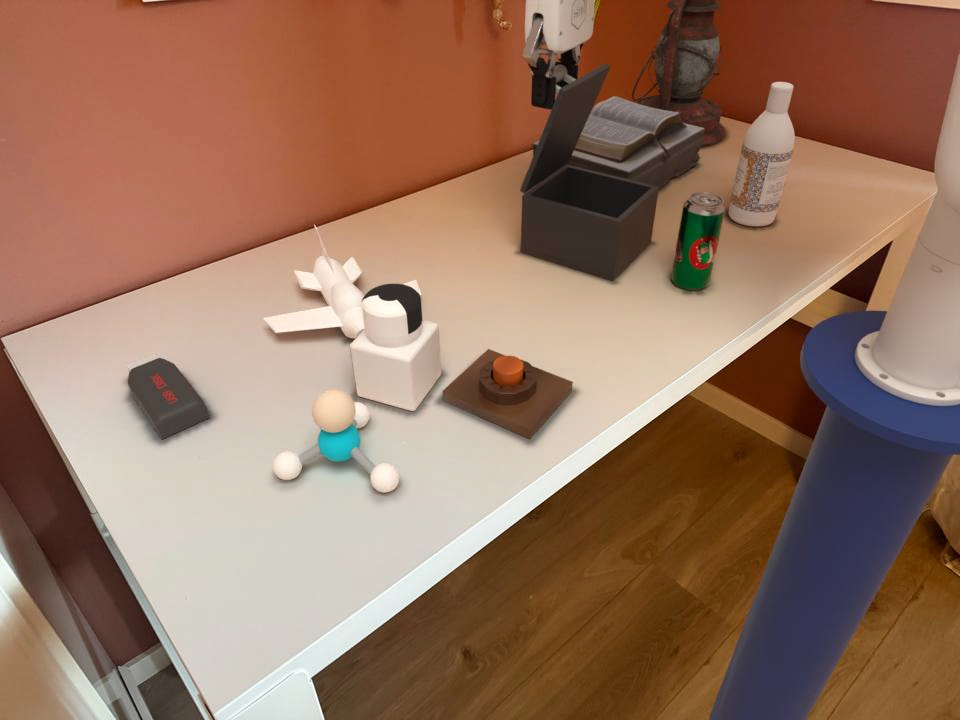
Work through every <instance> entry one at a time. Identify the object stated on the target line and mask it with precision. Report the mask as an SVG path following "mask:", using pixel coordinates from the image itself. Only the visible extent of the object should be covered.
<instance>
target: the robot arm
mask: <svg viewBox="0 0 960 720" xmlns="http://www.w3.org/2000/svg"><path fill="white" fill-rule="evenodd" d="M595 3H596V1H595V0H525V11H524V42H525V44H524V48H523V51H522V58H523V60H525V62H526V63H527V65H528V67H529V74H530V76H531V95H530V98H531V99H530V103H531V106H532V107H536V108H539V109H546V110H549V111H550V110H552V108H553V105H554V102H555V100H556V95H557V94H556V93H555V92H556V85H558V86H559V87H561V88H562V87H564V86H566V85H568V84H569V83H567V82H565V81H564V80H563V81H561V82H559V83H557V84H556V77H554V76H553V73H554V68H555V66H557V65H563V66H565V67H566V69H567V74H568V75H570V76H571V77H573V78H574V79H576V80H577V79H578V78H579V76H578V75H579V64H580V63H581V59H582V58H581V57H582V56H581V50H582V48H583V46H584V43H586V42H588V41H589V40H590V39H591V38H592V36H593V34H594V23H595ZM545 45H546V47H547V49H546V48H542V46H545ZM542 55H546V56H547V61H546V60H545V59H544V57H542ZM557 60H558V61H557ZM952 77H953V78H952V81H951V86H950V91H949V93H948V94H949V95H948V98H947V104H946V108H945V112H944V115H943V120H942V125H941V129H940V133H939V136H938V137H939V138H938V142H937V147H936V152H935V156H934V165H933V167H934V170H933V172H934V179H935V184H936V186H937V191H936V193H935V195H934V197H933V200H932V202H931V204H930V207H929V209H928V212H927V213H926V216H925V218H924V221H923V223H922V226H921V228H920V231H919V233H918V235H917V237H916V240H915V243H914V245H913V247H912V250H911V252H910V255H909V257H908V260H907V262H906V264H905V267H904V269H903V272H902V274H901V277H900V279H899V282H898V285H897V287H896V289H895V291H894V294H893V296H892V299H891V302H890V304H889V307H888V308H887V310H886V311H887V314H886V316H885V319H884V321H883V324H882V326H881V329H880V331H877V332H874V333H871V334H868V335H867V336H865V337H864V338H862V339H861V340H860V342H859V343H858V345H857V348H856V350H855V356H854V357H855V362H856V364H857V366H858V368H859V370H860V371H861V372H862V373H863V374H864V376H865V377H866V378H867V379H869V380H870V381H871V382H872V383H873V384H875V385H876V386H878V387H879V388H881V389H883V390H884V391H886V392H888V393H890V394H892V395H894V396H897V397H900V398H902V399H905V400H908V401H912V402H915V403H919V404H925V405H931V406H954V405H959V404H960V51H959V52H958V55H957V61H956V65H955V70H954V74H953V76H952Z"/></svg>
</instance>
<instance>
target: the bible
mask: <svg viewBox="0 0 960 720" xmlns="http://www.w3.org/2000/svg"><path fill="white" fill-rule="evenodd" d="M704 131H705V129H704V128H702V127H698V126H694V125H689V124H685V123H683V122H682V120H681V118H680V114H679V113H678V112H672V111H666V110H660V109H655V108H651V107H647V106H644V105H640V104H637V102H634V101H630V100H627V99H625V98H622V97H620V96H619V97H618V96H616V95H614V96H612V97H610V98H607V99H605V100H603V101H600V102H598V103H596V104H594V106H593V108H592V110H591V113H590V115H589V117H588V119H587V122H586V124H585V126H584V128H583V131H582V133H581V135H580V138H579V140H578V142H577V144H576V147H575V149H574V151H573V154H572V156H571V158H570V160H569V163H567V164H566V165H571V166H575V167H579V168H583V169H587V170H592V171H596V172H600V173H604V174H608V175H612V176H616V177H621V178H625V179H629V180H633V181H637V182H641V183H646V184H650V185H654V186H658V187H659V190H660V189H661V188H662V187H665V185H667V184H668V183H669V182H670V181H671V179H673V178H674V177H677V178H678V177H679V176H681V175H683V174H684V173H686V172H688V171H689V170H690V169H691V168H694V167H695V166H696V165H698V162H700V158H701V156H700V154H699V152H700V150H701V149H702V147H701V145H702V141H703V134H704ZM539 141H540V139H539V140H537V141H535V142H533V143H532V157H533V156H534V153H535V151H536V148H537V146H538V143H539ZM564 166H565V165H564ZM561 168H562V167H561ZM557 171H558V170H557ZM554 173H555V172H554ZM550 176H551V175H550ZM547 178H548V177H547ZM544 180H545V179H544Z"/></svg>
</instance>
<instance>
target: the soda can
mask: <svg viewBox="0 0 960 720" xmlns="http://www.w3.org/2000/svg"><path fill="white" fill-rule="evenodd" d="M724 203H725V201H724V198H723V197H722V196H720V195H718V194H716V193H713V192H704V191H698V192H693V193H691V194H689V195H688V196H687V200H686V201H684V203H683V206H682V212H681V217H680V222H679V227H678V228H679V229H678V234H677V240H676V245H675V252H674V257H673V263H672V268H671V274H670V279H671V280H672V282H673V283H674V284H675V286H677V287H678V288H680V289H683V290H687V291H700V290H702V289H704V288H706V287H707V286H708V285H710V283H711V279H712V274H713V269H714V264H715V259H716V255H717V250H718V246H719V241H720V236H721V232H722V227H723V222H724V217H725V213H726V208H725V205H724Z"/></svg>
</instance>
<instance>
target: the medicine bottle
mask: <svg viewBox="0 0 960 720" xmlns="http://www.w3.org/2000/svg"><path fill="white" fill-rule="evenodd" d="M403 284H404V283H385V284H380V285H377V286H375V287H373V288H371V289H369V290H368V291H367V292H366V293H365V294H364V297H363V299H362V302H361V303H362V311H363V318H364V326H365V329H364V330H363V331H362V332H361V333H360V334H359V336H358V337H357V338H354V339H353V341H352V342H351V343H350V344H349V352H350V358H351V365H352V370H353V377H354V383H355V390H356V395H357V396H358V397H360V398H364V399H367V400H370V401H374V402H378V403H381V404H385V405H388V406H392V407H396V408H400V409H402V410H407V411H410V412H415V411H416V410H417V409H418V407H419V406H420V404H421V403H422V402H423V400H424V399H425V397H426V396H427V395H428V393H429V392H430V390H431V389H432V388H433V386H434V385H435V384H436V382H437V381H438V380H439V378H440V376H442V357H441V356H442V355H441V340H440V325H439V323H437V322H433V321H429V320H425V319H423V310H422V308H423V307H422V296H420V294H419V293H418V292H417V291H416V290H415V289H413V288H412V287H410V286H407V285H403Z"/></svg>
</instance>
